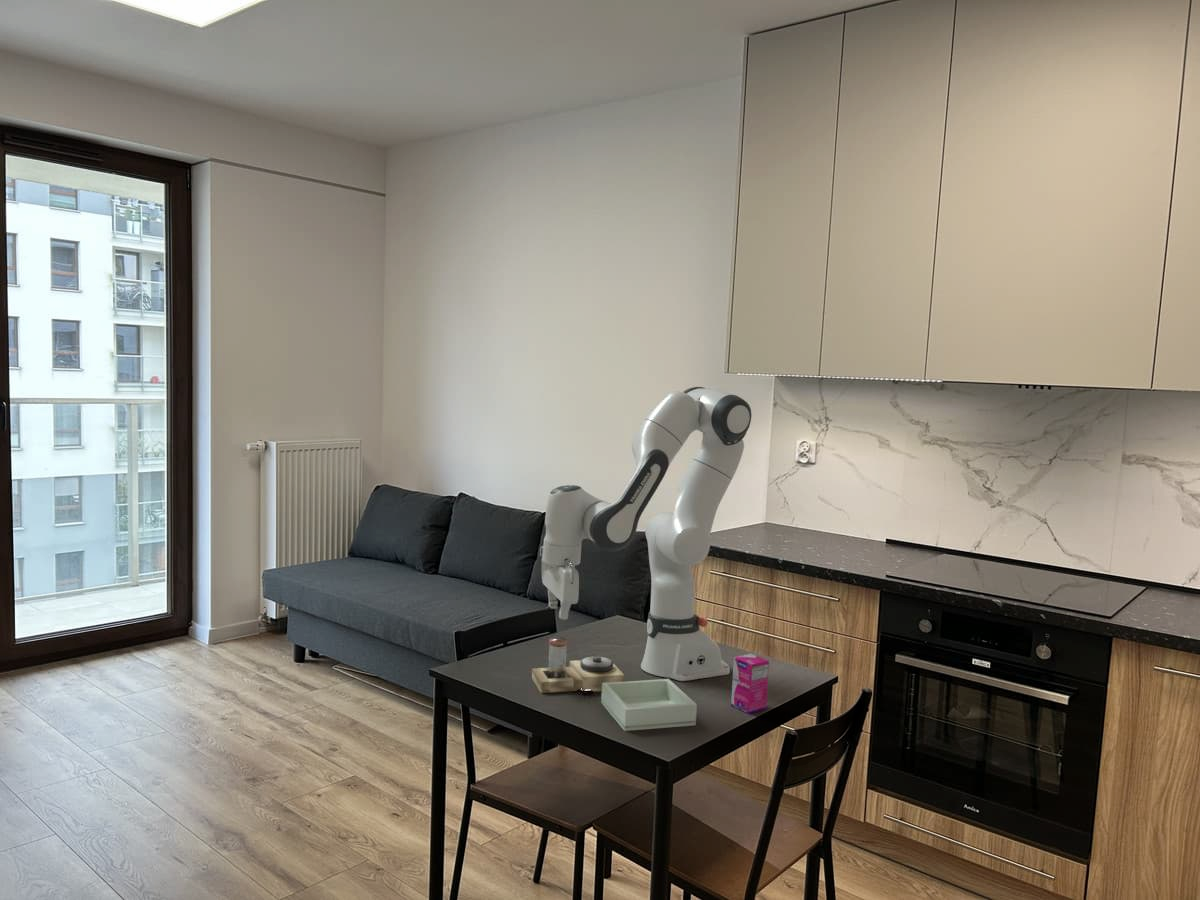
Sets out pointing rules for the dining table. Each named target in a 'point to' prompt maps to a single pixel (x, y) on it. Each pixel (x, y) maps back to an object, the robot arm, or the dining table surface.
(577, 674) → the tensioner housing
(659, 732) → the dining table surface
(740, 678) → the supplement box
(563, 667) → the lock pin
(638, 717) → the tray
